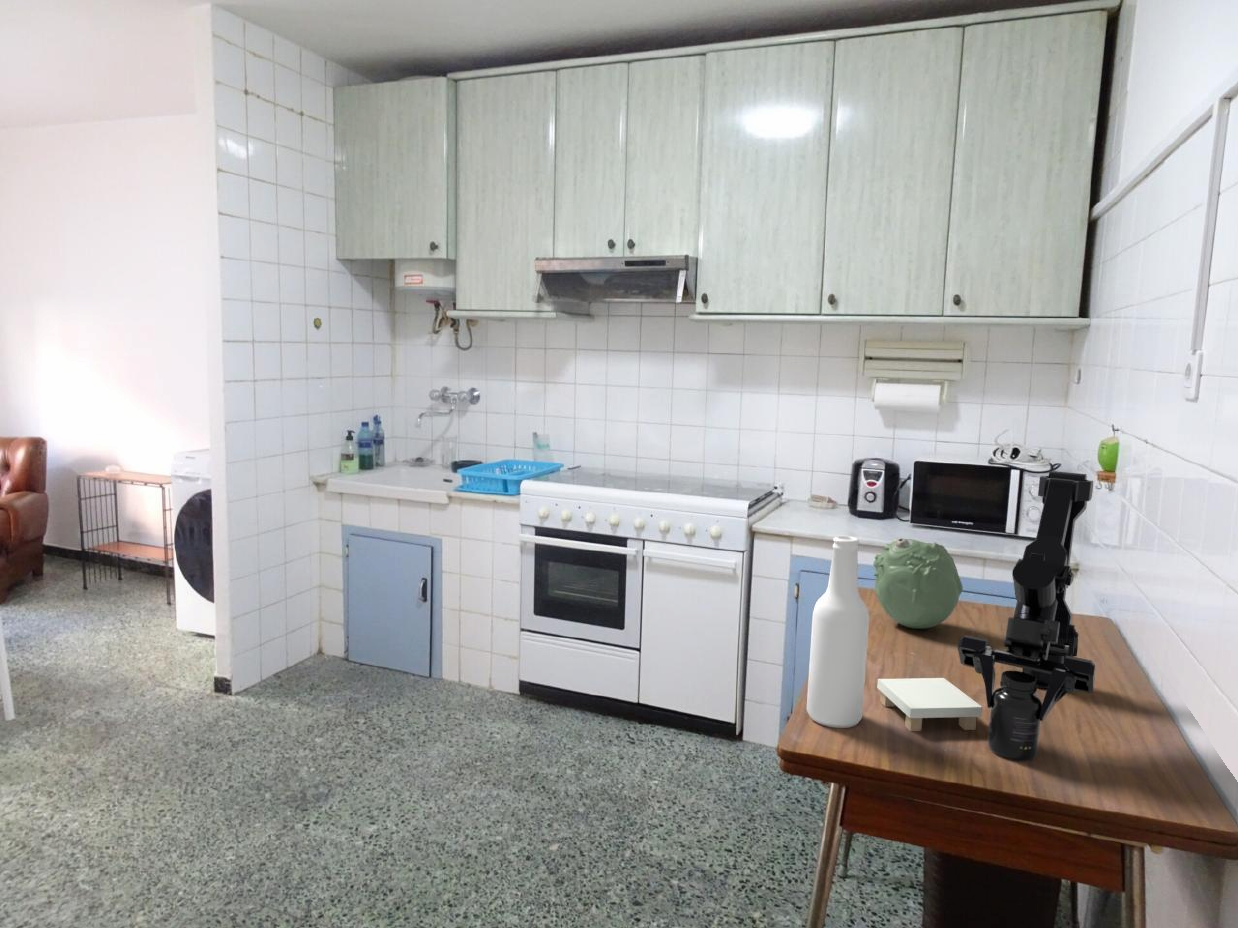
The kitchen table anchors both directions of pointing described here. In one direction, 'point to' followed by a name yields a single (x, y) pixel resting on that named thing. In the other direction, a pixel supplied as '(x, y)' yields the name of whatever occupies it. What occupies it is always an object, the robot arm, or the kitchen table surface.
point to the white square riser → (928, 701)
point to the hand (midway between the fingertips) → (1014, 713)
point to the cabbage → (917, 583)
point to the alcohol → (839, 643)
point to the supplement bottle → (1015, 717)
